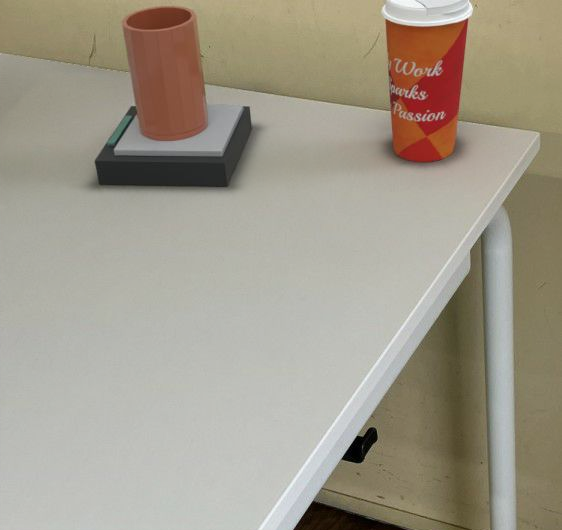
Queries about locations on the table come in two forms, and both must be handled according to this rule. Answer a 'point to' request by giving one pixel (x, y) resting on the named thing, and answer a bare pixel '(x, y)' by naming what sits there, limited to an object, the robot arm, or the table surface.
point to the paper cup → (425, 74)
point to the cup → (166, 72)
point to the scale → (176, 152)
